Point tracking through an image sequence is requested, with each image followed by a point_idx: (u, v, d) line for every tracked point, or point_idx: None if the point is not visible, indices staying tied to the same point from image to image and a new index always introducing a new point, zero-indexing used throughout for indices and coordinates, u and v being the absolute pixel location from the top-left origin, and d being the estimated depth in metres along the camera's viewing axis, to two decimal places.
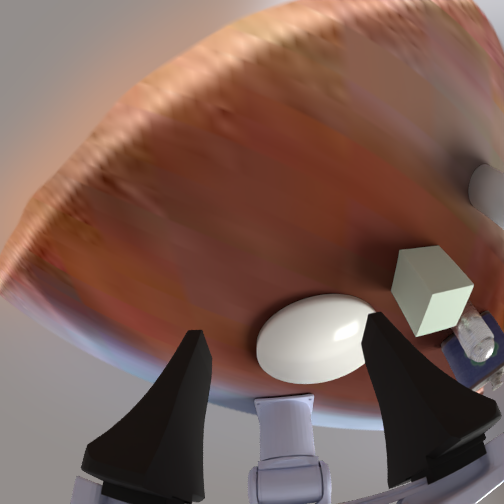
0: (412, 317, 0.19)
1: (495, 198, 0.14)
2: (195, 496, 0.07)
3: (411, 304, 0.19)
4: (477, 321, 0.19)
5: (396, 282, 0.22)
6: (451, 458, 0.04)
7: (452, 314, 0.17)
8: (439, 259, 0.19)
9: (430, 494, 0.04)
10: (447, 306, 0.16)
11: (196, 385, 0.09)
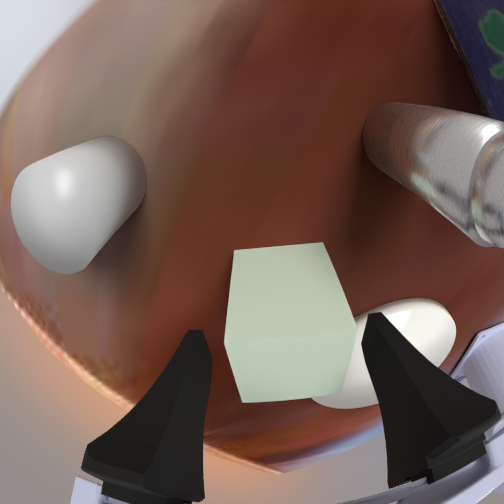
0: None
1: None
2: (195, 496, 0.07)
3: None
4: (420, 171, 0.07)
5: None
6: (451, 458, 0.04)
7: (306, 357, 0.09)
8: None
9: (430, 494, 0.04)
10: (279, 376, 0.10)
11: (196, 384, 0.09)
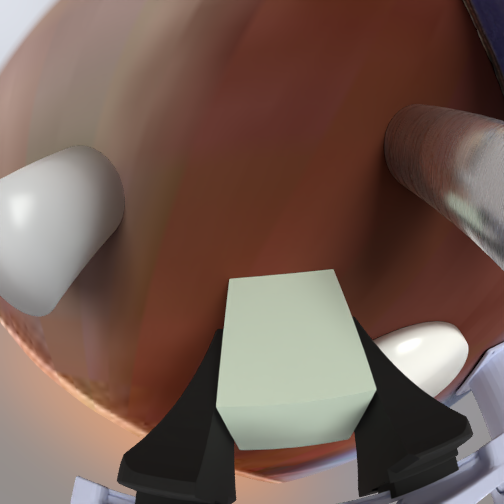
0: None
1: None
2: (229, 499, 0.07)
3: None
4: (468, 200, 0.05)
5: None
6: (417, 473, 0.04)
7: (314, 416, 0.07)
8: None
9: (430, 494, 0.04)
10: (280, 432, 0.08)
11: None
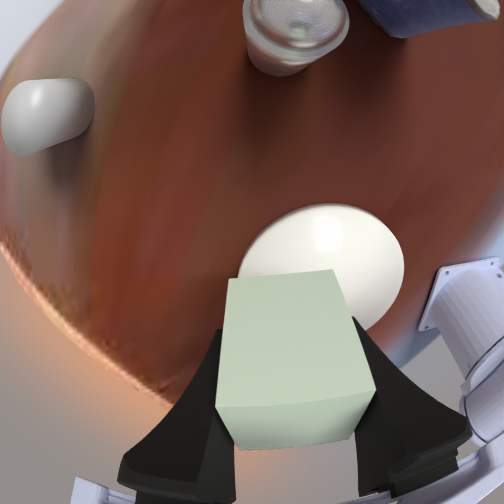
0: None
1: None
2: (229, 499, 0.07)
3: None
4: (246, 35, 0.08)
5: None
6: (417, 473, 0.04)
7: (314, 416, 0.07)
8: None
9: (430, 494, 0.04)
10: (280, 432, 0.08)
11: None
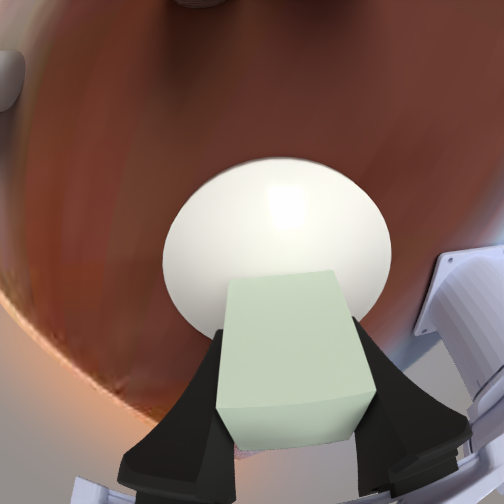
0: None
1: None
2: (229, 499, 0.07)
3: None
4: None
5: None
6: (417, 473, 0.04)
7: (314, 417, 0.07)
8: None
9: (430, 494, 0.04)
10: (280, 432, 0.08)
11: None
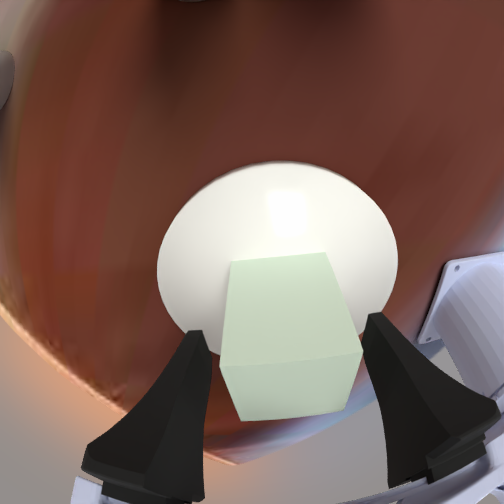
0: None
1: None
2: (195, 496, 0.07)
3: None
4: None
5: None
6: (451, 458, 0.04)
7: (308, 379, 0.08)
8: None
9: (430, 494, 0.04)
10: (278, 397, 0.09)
11: (196, 384, 0.09)
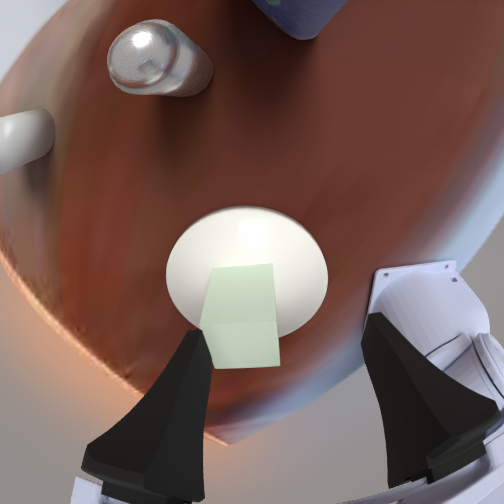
0: None
1: None
2: (195, 496, 0.07)
3: None
4: None
5: None
6: (451, 458, 0.04)
7: (248, 336, 0.16)
8: None
9: (430, 494, 0.04)
10: (234, 349, 0.16)
11: (196, 384, 0.09)
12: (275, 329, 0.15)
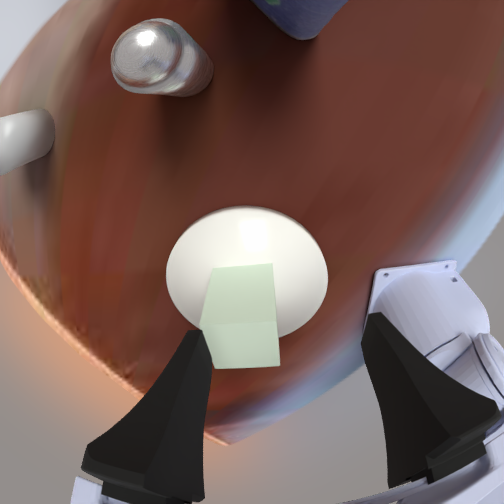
0: None
1: None
2: (195, 496, 0.07)
3: None
4: None
5: None
6: (451, 458, 0.04)
7: (248, 336, 0.16)
8: None
9: (430, 494, 0.04)
10: (234, 349, 0.16)
11: (196, 384, 0.09)
12: (275, 329, 0.15)
